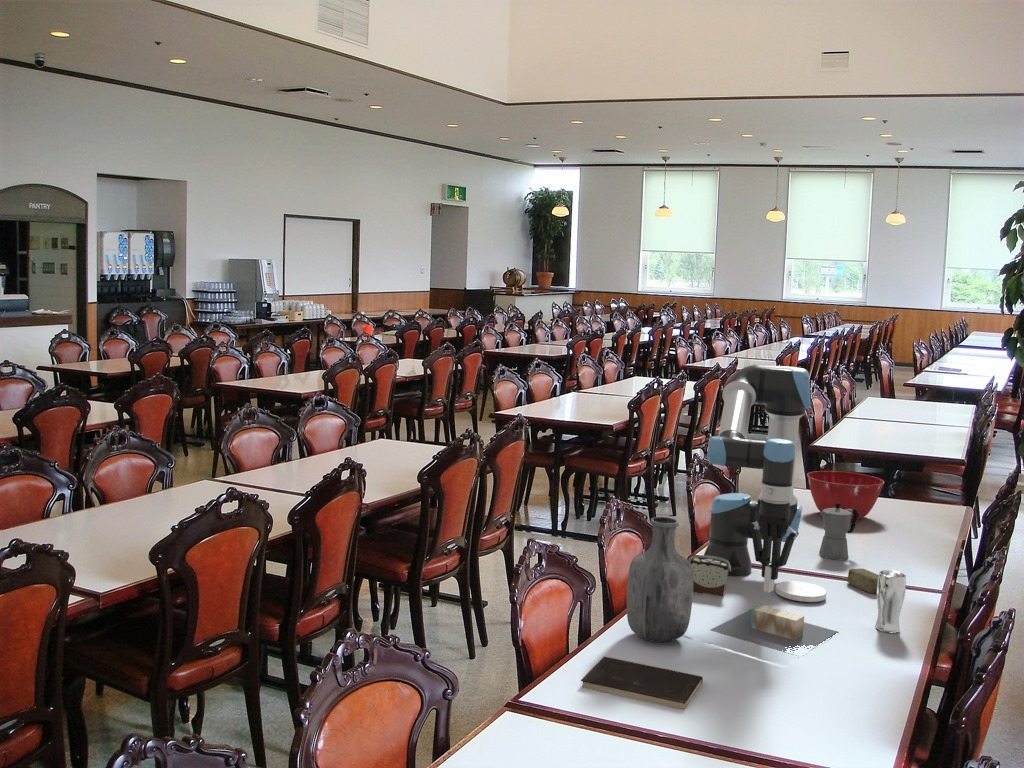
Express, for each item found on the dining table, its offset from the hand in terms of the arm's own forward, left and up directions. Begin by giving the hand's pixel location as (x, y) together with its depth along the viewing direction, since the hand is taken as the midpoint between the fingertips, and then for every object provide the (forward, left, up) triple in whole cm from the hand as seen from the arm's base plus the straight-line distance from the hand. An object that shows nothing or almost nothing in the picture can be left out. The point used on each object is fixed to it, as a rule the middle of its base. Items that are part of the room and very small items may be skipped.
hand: (768, 590), depth 261 cm
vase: (-17, -26, -11) cm, 33 cm away
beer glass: (+22, +25, -11) cm, 35 cm away
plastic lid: (-6, +34, -11) cm, 36 cm away
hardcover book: (-4, -53, -11) cm, 54 cm away
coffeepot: (-16, +84, -11) cm, 86 cm away
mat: (+2, 0, -11) cm, 11 cm away
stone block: (+5, +57, -11) cm, 58 cm away
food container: (-26, +17, -11) cm, 33 cm away
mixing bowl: (-37, +141, -11) cm, 146 cm away
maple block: (-3, 0, -8) cm, 8 cm away
